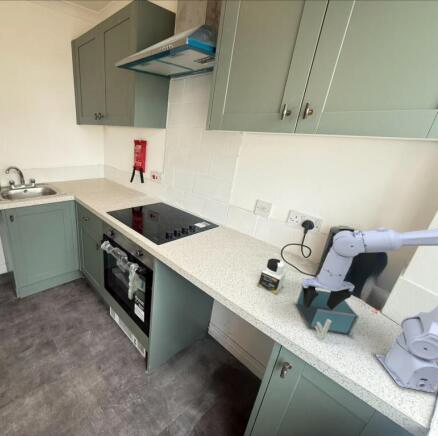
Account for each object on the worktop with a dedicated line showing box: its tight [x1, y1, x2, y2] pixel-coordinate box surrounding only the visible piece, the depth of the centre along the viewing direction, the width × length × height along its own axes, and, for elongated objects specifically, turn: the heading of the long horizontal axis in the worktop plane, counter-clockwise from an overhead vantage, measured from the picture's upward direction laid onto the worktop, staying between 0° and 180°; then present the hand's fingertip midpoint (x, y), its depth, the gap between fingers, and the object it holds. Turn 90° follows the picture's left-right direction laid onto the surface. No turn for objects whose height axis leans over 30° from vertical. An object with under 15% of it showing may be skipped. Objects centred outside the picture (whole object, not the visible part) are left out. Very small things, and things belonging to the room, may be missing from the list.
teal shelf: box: [311, 309, 355, 340], centre depth 76 cm, size 5×10×7 cm, turn 79°
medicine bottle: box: [258, 258, 287, 294], centre depth 99 cm, size 7×7×12 cm
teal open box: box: [295, 287, 360, 337], centre depth 83 cm, size 12×12×8 cm
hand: (317, 306), depth 76 cm, fingers open, 7 cm apart
